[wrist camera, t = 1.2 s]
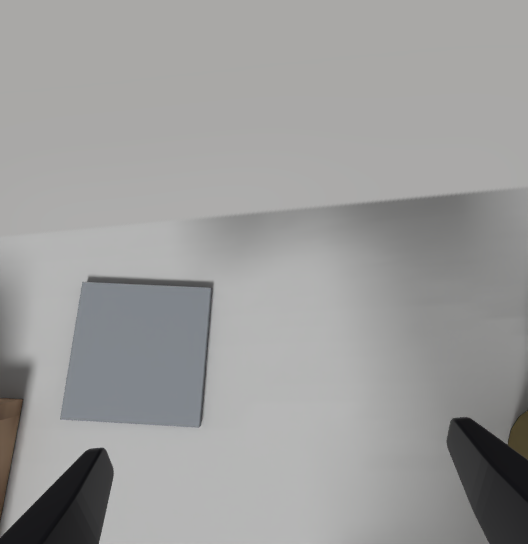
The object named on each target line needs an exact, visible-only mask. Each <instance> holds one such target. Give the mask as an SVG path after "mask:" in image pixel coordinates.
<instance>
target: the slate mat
mask: <svg viewBox="0 0 528 544" xmlns="http://www.w3.org/2000/svg"><path fill="white" fill-rule="evenodd" d="M211 294H212V289H211V288H205V287H183V286H162V285H140V284H118V283H96V282H82V288H81V294H80V300H79V306H78V313H77V319H76V325H75V331H74V337H73V343H72V349H71V355H70V362H69V368H68V374H67V380H66V386H65V392H64V398H63V404H62V411H61V417H60V419H63V420H80V421H97V422H114V423H131V424H148V425H165V426H182V427H200V426H201V415H202V403H203V391H204V379H205V367H206V355H207V343H208V331H209V319H210V306H211Z"/></svg>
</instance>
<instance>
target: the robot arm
mask: <svg viewBox="0 0 528 544" xmlns="http://www.w3.org/2000/svg"><path fill="white" fill-rule="evenodd" d="M447 446H448V450H449V452H450V455H451V457H452V460H453V462H454V465H455V467H456V470H457V472H458V475H459V477H460V480H461V482H462V485H463V487H464V490H465V492H466V495H467V497H468V500H469V502H470V505H471V507H472V509H473V512H474V514H475V516H476V518H477V520H478V522H479V524H480V526H481V528H482V530H483V532H484V534H485V536H486V538H487V540H488V542H489V544H528V459H526V458H525V457H523V456H522V455H521V454H519V453H518V452H516V451H515V450H514V449H512V448H511V447H510V446H508V445H507V444H505V443H504V442H503V441H501V440H500V439H499V438H497V437H496V436H494V435H493V434H492V433H490V432H489V431H487V430H486V429H485V428H483V427H482V426H481V425H479V424H478V423H476V422H475V421H474V420H472V419H471V418H468V417H460V418H453V419H452V420H451V422H450V426H449V431H448V436H447ZM113 475H114V470H113V466H112V464H111V461H110V459H109V456H108V454H107V451H106V450H105V449H104V448H93V449H88V450H87V451H85V452H84V453H83V454H82V455H81V456H80V457H79V458H78V459H77V460H76V461H75V462H74V463H73V464H72V466H71V467H70V468H69V469H68V470H67V471H66V472H65V473H64V474H63V475H62V476H61V477H60V478H59V479H58V480H57V481H56V482H55V483H54V484H53V485H52V486H51V487H50V488H49V489H48V490H47V491H46V492H45V493H44V494H43V495H42V496H41V497H40V498H39V499H38V500H37V501H36V502H35V503H34V504H33V505H32V506H31V507H30V508H29V509H28V510H27V511H26V512H25V513H24V514H23V515H22V516H21V517H20V518H19V519H18V520H17V521H16V522H15V523H14V524H13V525H12V526H11V527H10V529H9V530H8V531H7V532H6V533H5V534H4V535H3V536H2V537H1V538H0V544H99V540H100V536H101V532H102V527H103V523H104V518H105V513H106V509H107V504H108V500H109V495H110V490H111V486H112V481H113Z"/></svg>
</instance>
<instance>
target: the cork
mask: <svg viewBox="0 0 528 544" xmlns="http://www.w3.org/2000/svg"><path fill="white" fill-rule="evenodd" d="M508 446H510V447H511V448H512V449H514V450H515V451H516V452H518V453H519V454H521V455H522V456H523V457H525V458H526V459H528V411H526V412H525V413H523V414H522V415H521V416H519V418H518V419H517V421H516V422H515V424H514V426H513V427H512V429H511V433H510V437H509V441H508Z"/></svg>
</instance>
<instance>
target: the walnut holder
mask: <svg viewBox="0 0 528 544" xmlns="http://www.w3.org/2000/svg"><path fill="white" fill-rule="evenodd" d="M22 402H23V399H10V398H0V520H1V514H2V509H3V503H4V498H5V493H6V487H7V482H8V477H9V471H10V466H11V461H12V455H13V450H14V445H15V439H16V434H17V428H18V423H19V418H20V412H21V407H22Z"/></svg>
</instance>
